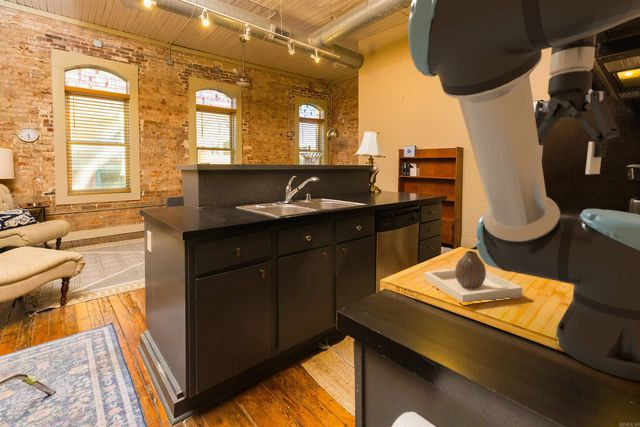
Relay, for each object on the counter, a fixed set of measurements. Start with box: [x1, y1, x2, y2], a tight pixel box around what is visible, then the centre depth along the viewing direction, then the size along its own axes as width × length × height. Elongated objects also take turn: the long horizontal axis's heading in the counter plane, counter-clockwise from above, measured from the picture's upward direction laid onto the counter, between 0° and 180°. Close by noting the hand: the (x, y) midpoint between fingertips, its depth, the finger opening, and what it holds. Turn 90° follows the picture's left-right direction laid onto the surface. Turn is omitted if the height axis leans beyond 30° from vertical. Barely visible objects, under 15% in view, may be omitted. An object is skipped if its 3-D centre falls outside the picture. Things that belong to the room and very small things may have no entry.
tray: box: [423, 268, 524, 302], centre depth 81 cm, size 16×16×2 cm
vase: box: [454, 250, 487, 289], centre depth 80 cm, size 7×7×9 cm
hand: (561, 173), depth 73 cm, fingers open, 13 cm apart
